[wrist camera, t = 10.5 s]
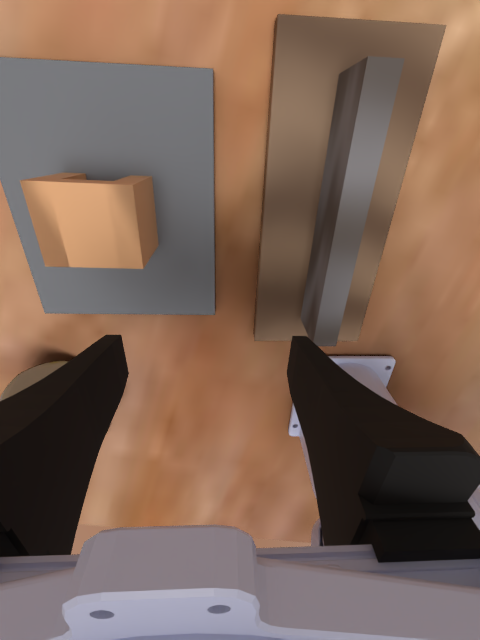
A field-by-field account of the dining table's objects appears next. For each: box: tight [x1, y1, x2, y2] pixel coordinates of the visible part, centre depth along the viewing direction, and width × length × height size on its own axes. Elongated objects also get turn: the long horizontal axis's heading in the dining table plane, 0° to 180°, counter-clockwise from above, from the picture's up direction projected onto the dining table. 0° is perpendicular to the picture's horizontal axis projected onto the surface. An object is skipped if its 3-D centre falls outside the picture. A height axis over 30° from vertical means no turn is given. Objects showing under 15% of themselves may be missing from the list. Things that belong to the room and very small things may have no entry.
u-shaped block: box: [20, 173, 159, 269], centre depth 16 cm, size 4×5×4 cm
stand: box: [254, 14, 446, 346], centre depth 17 cm, size 18×8×4 cm, turn 178°
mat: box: [0, 57, 215, 315], centre depth 18 cm, size 14×12×1 cm
